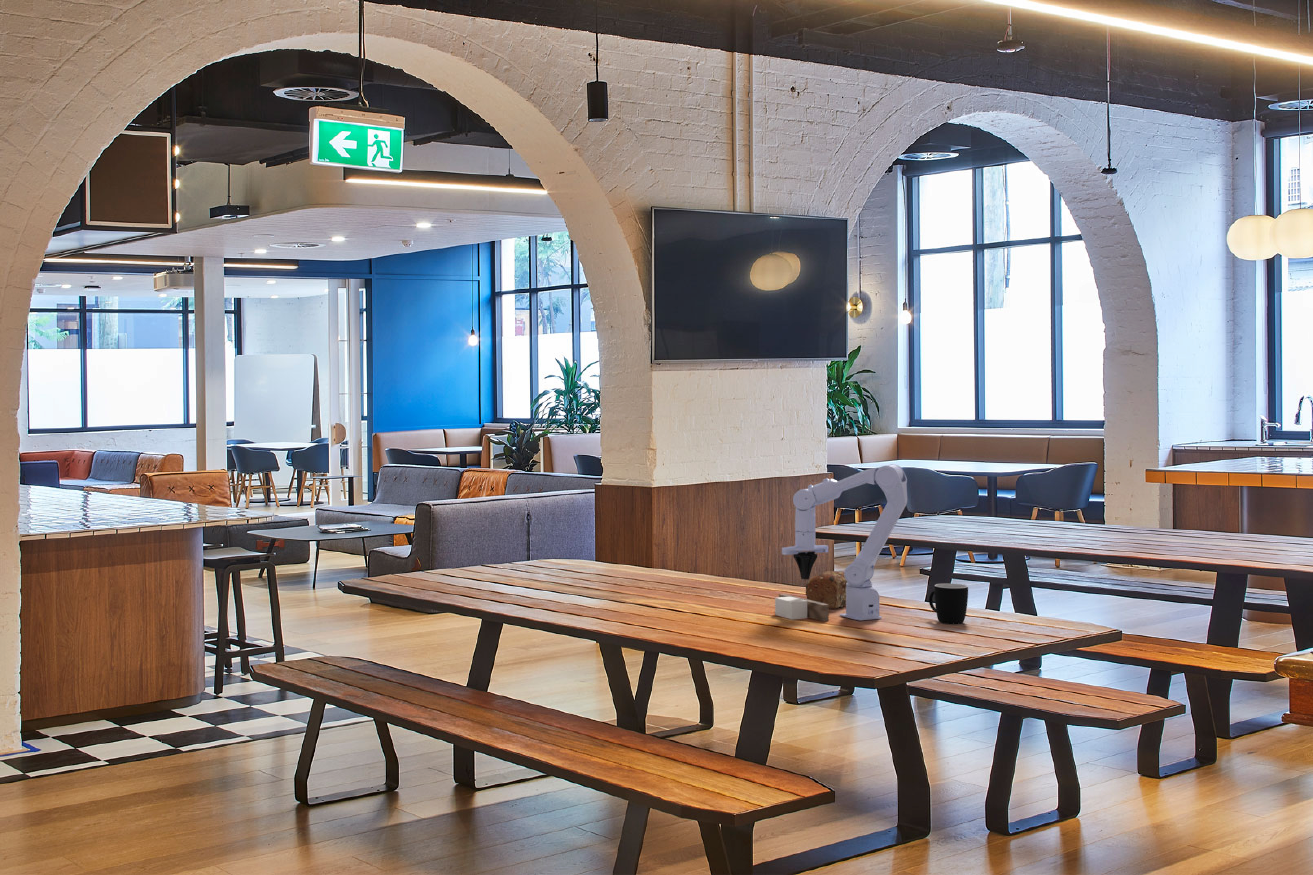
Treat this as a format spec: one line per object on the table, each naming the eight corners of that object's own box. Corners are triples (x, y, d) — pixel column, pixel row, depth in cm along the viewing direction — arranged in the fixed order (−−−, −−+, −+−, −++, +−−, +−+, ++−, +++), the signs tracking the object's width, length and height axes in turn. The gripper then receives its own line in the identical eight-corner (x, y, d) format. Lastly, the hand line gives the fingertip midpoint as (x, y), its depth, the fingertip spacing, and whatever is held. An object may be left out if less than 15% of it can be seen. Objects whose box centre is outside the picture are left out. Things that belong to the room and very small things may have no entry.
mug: (974, 623, 349) (975, 586, 349) (953, 626, 343) (953, 589, 343) (940, 617, 358) (940, 581, 358) (918, 620, 353) (919, 583, 353)
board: (828, 620, 352) (828, 604, 352) (822, 621, 351) (822, 604, 351) (784, 609, 372) (784, 593, 372) (778, 609, 371) (778, 594, 371)
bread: (837, 610, 371) (837, 576, 371) (803, 607, 376) (803, 573, 376) (860, 601, 387) (860, 569, 387) (827, 599, 392) (827, 566, 392)
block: (807, 618, 357) (807, 600, 357) (791, 620, 355) (792, 602, 355) (790, 613, 365) (790, 596, 365) (775, 615, 363) (775, 597, 363)
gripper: (818, 528, 371) (818, 575, 371) (776, 531, 364) (775, 578, 364) (832, 531, 364) (832, 578, 365) (789, 533, 358) (789, 581, 358)
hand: (805, 578), depth 364 cm, fingers closed
